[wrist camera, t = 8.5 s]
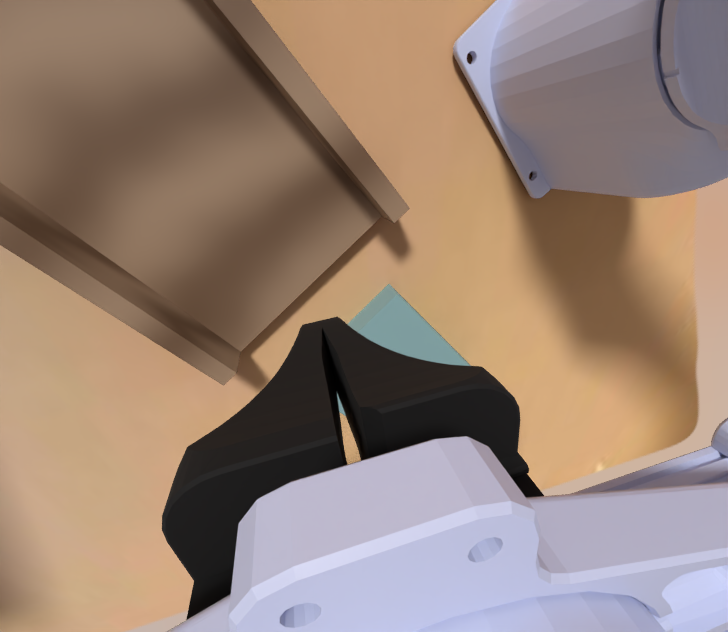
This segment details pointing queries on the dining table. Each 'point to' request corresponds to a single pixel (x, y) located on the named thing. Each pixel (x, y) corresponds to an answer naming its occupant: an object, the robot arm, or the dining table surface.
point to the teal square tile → (402, 331)
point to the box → (175, 167)
